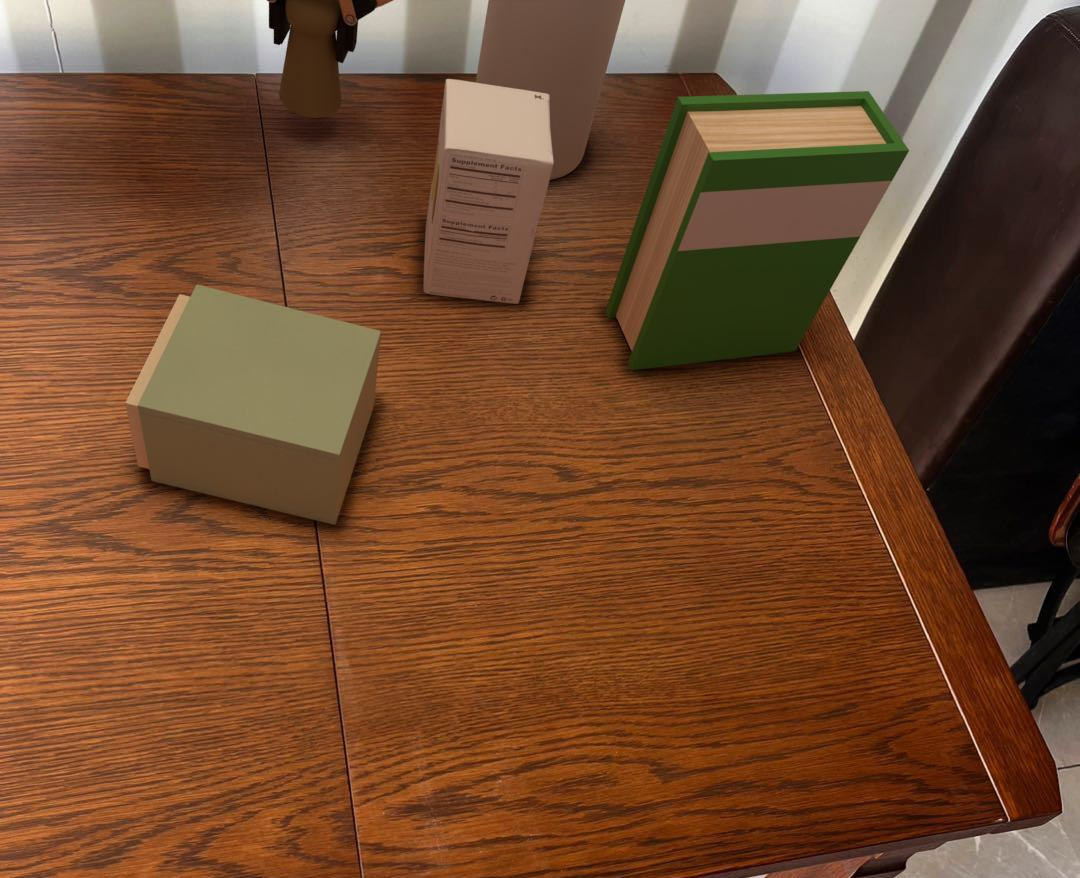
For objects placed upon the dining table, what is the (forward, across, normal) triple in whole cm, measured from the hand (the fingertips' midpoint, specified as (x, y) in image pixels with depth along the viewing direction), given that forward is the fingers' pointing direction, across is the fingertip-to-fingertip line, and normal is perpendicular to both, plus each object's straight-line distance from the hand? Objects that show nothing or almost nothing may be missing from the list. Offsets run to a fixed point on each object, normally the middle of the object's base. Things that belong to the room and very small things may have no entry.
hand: (312, 44), depth 103 cm
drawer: (+9, -5, +40) cm, 41 cm away
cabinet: (+10, -8, +40) cm, 41 cm away
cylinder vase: (+9, -22, -6) cm, 24 cm away
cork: (+6, 0, 0) cm, 6 cm away
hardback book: (+9, -43, +14) cm, 46 cm away
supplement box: (+10, -20, +14) cm, 26 cm away
